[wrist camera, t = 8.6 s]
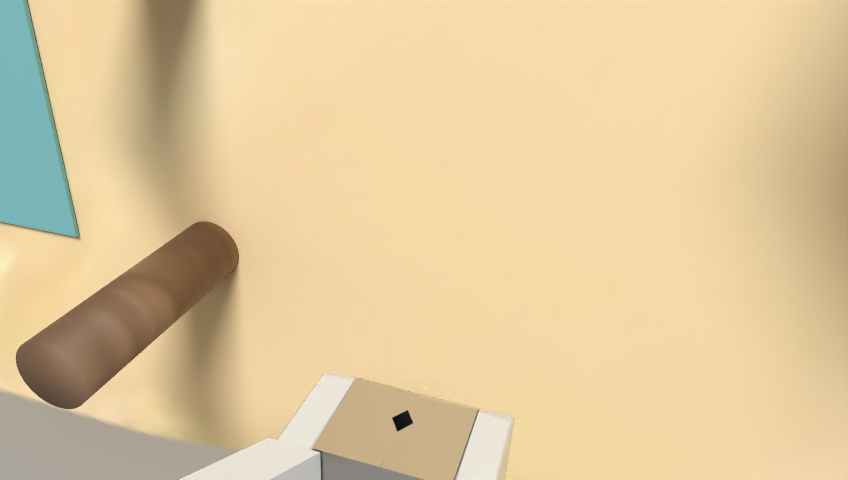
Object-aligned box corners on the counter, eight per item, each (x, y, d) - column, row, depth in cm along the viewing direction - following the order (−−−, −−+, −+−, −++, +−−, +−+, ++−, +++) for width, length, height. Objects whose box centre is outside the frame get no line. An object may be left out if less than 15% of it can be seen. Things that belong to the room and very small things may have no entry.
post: (235, 226, 27) (77, 351, 19) (240, 280, 28) (93, 416, 21) (181, 217, 28) (7, 333, 20) (188, 269, 29) (26, 398, 21)
